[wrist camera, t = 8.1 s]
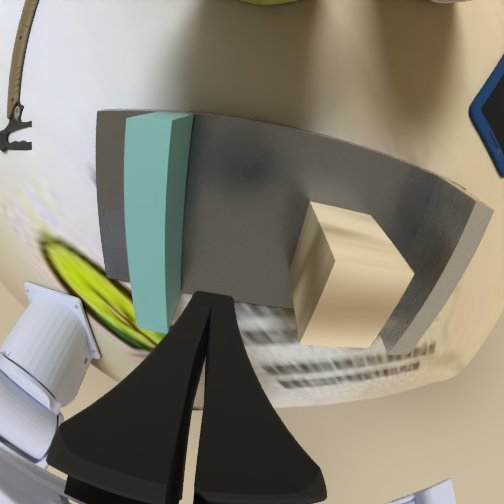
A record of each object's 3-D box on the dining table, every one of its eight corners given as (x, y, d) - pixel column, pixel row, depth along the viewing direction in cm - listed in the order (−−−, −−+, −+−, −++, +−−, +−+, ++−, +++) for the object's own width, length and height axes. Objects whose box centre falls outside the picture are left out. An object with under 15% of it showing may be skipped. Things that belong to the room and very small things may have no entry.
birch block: (344, 279, 18) (368, 347, 13) (289, 271, 18) (299, 344, 13) (370, 215, 15) (414, 273, 10) (309, 201, 15) (335, 260, 10)
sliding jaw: (180, 294, 19) (167, 334, 16) (154, 288, 19) (137, 327, 15) (193, 113, 12) (172, 120, 9) (157, 111, 12) (126, 118, 9)
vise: (397, 310, 21) (417, 354, 17) (112, 269, 19) (84, 313, 15) (458, 184, 15) (501, 214, 11) (105, 109, 13) (55, 121, 9)
